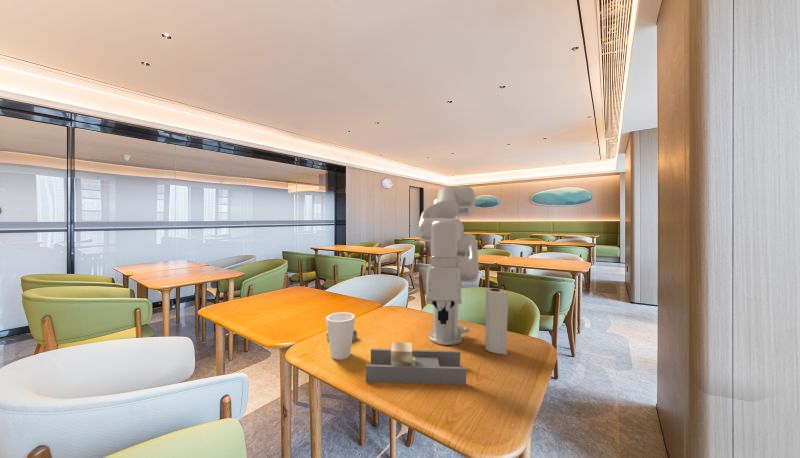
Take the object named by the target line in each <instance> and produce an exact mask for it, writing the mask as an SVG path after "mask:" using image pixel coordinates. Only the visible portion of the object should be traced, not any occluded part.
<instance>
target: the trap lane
mask: <svg viewBox="0 0 800 458" xmlns="http://www.w3.org/2000/svg"><path fill="white" fill-rule="evenodd" d="M412 356H415V366H406V365H391V348H388V349H387V348H370V363H369V364H367V363H366V364H365V383H388V384H389V383H391V384H392V383H395V384H419V385H420V384H423V385H424V384H425V385H426V384H427V385H428V384H429V385H458V386H460V385H461V386H463V385H464V386H467V368H466V366H461V351H460V350H440V349H439V350H438V349H436V350H434V349H433V350H432V349H429V350H428V349H412Z"/></svg>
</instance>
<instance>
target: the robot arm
mask: <svg viewBox="0 0 800 458" xmlns="http://www.w3.org/2000/svg"><path fill="white" fill-rule="evenodd" d="M475 206H476V193H475V191H474V189H473V188H472V187H471V186H468V185H466V186H465V185H461V186H460V185H457V186H454V185H453V186H452V185H451V186H444V187H441V188H440V189H439V190H438V192H437V194H436V198H435V199H434V200H433V202H432V205H430V206H428V207H426V208H425V209H424V210H423V211H422V212H421V215H420V218H419V221H418V226H417V234H418V237H419V239H420V240H422V241H423V242H430V264H429V265H428V266H427V270H426V271H427V272H426V279H425V280H426V281H425V295H426V296H425V298H424V299H425V300H424V301H425V304H429V305H432V306H433V312H432V313H433V317H432V320H433V321H432V323H433V324H432V325H433V326H432V331H430V332H429V334H428V338H429V340H430V341H431V342H433V343H434V344H438V345H442V346H454V345H457V344H460V343H462V341H463V335H462V334H464V333H465V334H466V333H470V331H471V330H470V327H468V326H467V327H464V326H463V325H459V311H460V310H459V305H461V304H462V303H463V302H462V284H463V283H467V284H471V283H475V282H477V280H478V279H479V276H480V275H479V273H480V266H479V250H478V248H479V247H478V242H477V239H476V238H475V237H474V236H473V235H470V234H464V232H465V231H464V229H465V226H464V224H463V222H462V221H461V220H460V219H459V218H457V217H470V216H471V215H473V213H474V210H475Z"/></svg>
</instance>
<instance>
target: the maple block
mask: <svg viewBox="0 0 800 458" xmlns="http://www.w3.org/2000/svg"><path fill="white" fill-rule="evenodd" d="M390 349H391V365H406V366H412V350H413V342H391V348H390Z"/></svg>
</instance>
